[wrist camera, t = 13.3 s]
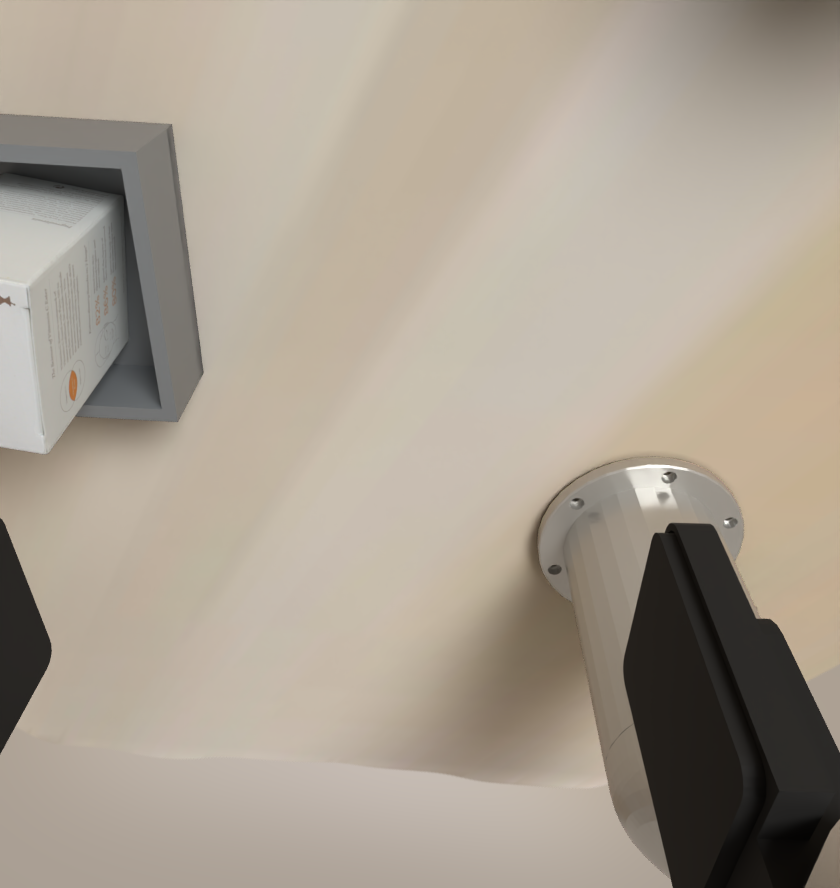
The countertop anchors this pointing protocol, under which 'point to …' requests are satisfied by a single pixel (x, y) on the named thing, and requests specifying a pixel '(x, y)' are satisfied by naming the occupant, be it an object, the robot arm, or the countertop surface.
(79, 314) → the small box
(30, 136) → the crate
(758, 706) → the robot arm
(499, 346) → the countertop surface
